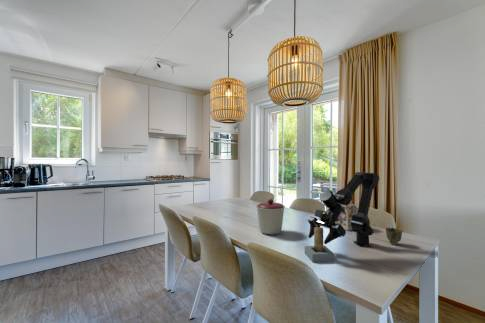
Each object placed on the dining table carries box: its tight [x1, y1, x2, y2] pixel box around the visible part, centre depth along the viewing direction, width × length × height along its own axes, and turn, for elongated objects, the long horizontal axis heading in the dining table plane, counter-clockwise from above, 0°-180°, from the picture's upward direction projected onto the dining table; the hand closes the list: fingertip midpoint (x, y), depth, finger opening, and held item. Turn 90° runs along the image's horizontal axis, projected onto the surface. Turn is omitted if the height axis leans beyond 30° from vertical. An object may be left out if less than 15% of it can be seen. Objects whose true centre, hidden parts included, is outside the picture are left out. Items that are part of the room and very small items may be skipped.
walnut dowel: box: [313, 226, 324, 252], centre depth 107 cm, size 4×4×13 cm
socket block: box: [304, 244, 335, 263], centre depth 107 cm, size 10×10×4 cm
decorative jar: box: [335, 202, 359, 232], centre depth 155 cm, size 12×12×18 cm
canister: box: [255, 198, 286, 236], centre depth 145 cm, size 18×18×21 cm
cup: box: [385, 227, 403, 246], centre depth 124 cm, size 8×7×8 cm
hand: (316, 240), depth 107 cm, fingers open, 9 cm apart
